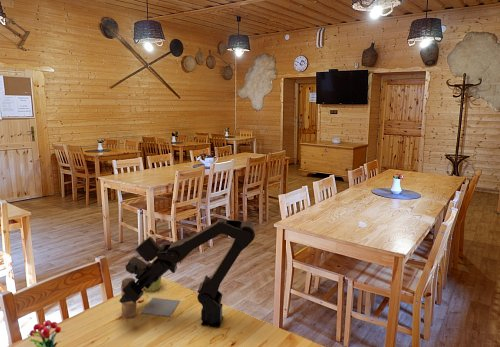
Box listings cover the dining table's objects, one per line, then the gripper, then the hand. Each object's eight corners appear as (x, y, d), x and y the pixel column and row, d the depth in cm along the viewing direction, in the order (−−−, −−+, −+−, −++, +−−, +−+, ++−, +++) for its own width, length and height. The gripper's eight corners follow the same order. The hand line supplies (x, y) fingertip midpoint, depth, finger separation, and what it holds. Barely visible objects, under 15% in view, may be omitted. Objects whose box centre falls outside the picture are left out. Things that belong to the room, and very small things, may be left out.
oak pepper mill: (139, 311, 139) (138, 278, 136) (132, 319, 134) (131, 284, 131) (126, 310, 139) (125, 276, 137) (119, 317, 135) (118, 283, 132)
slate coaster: (180, 301, 147) (180, 300, 147) (169, 317, 136) (169, 316, 136) (152, 298, 148) (152, 297, 148) (140, 313, 138) (140, 312, 138)
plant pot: (158, 295, 151) (157, 274, 149) (135, 292, 152) (135, 271, 151) (167, 284, 160) (167, 264, 158) (146, 281, 162) (146, 262, 160)
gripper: (151, 242, 140) (123, 267, 144) (127, 263, 122) (96, 291, 126) (171, 265, 141) (143, 289, 145) (151, 289, 123) (119, 315, 126)
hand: (126, 295), depth 135 cm, fingers open, 9 cm apart
